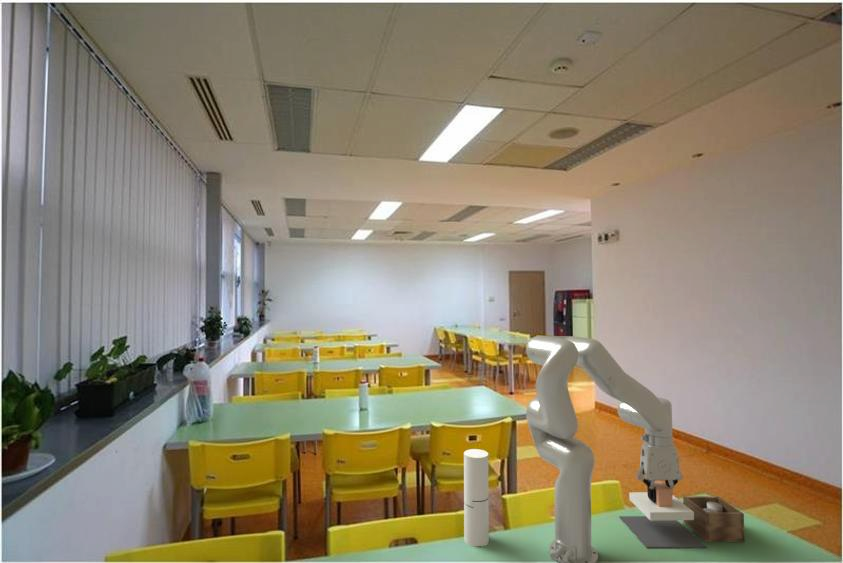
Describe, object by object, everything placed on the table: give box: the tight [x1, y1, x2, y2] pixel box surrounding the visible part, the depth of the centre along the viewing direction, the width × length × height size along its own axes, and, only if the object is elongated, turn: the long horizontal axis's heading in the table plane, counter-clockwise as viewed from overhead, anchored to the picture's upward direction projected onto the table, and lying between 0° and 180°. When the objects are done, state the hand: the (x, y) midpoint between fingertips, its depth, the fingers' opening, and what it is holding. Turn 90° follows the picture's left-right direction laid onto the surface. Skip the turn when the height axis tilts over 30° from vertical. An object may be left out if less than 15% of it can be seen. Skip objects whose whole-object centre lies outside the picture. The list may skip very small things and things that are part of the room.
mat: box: [618, 515, 707, 549], centre depth 132 cm, size 17×17×1 cm
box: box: [682, 495, 745, 543], centre depth 132 cm, size 11×11×8 cm
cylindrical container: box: [463, 448, 490, 547], centre depth 128 cm, size 7×7×25 cm
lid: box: [628, 480, 694, 521], centre depth 132 cm, size 13×13×7 cm
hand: (660, 499), depth 132 cm, fingers closed on lid, 4 cm apart
